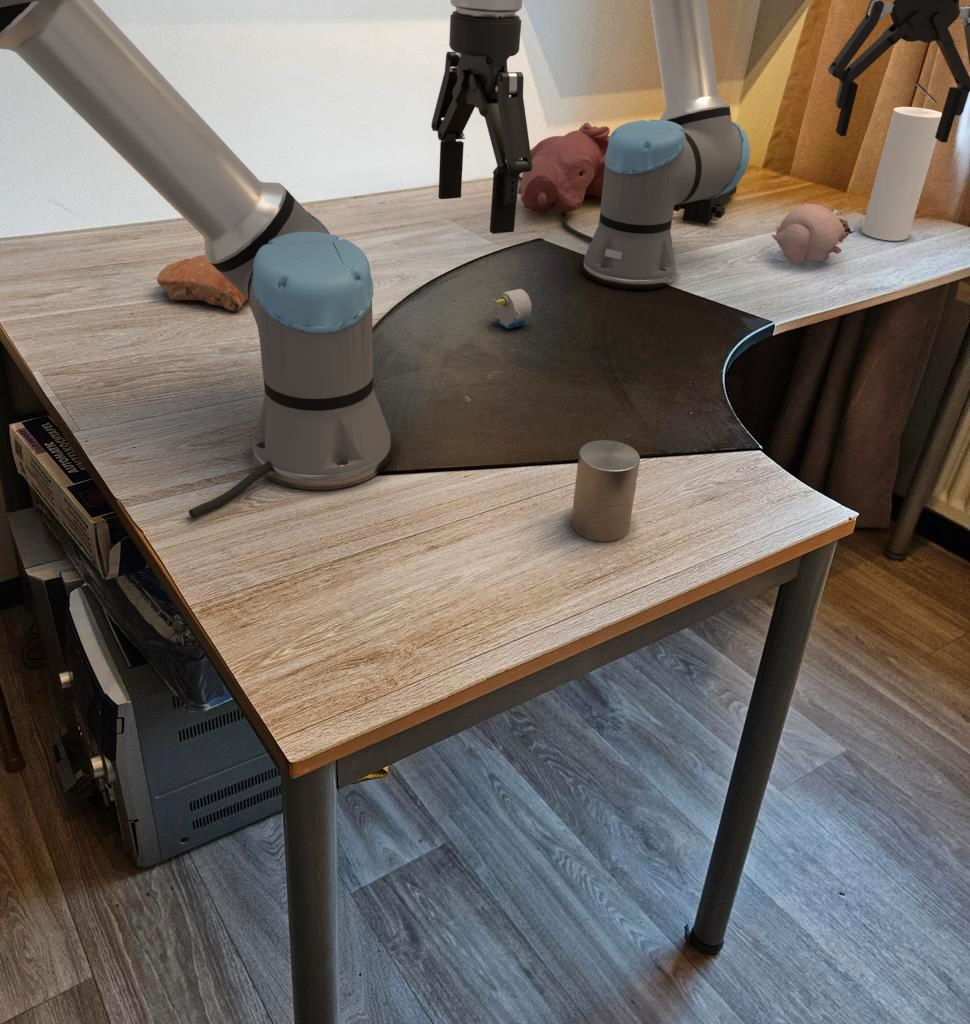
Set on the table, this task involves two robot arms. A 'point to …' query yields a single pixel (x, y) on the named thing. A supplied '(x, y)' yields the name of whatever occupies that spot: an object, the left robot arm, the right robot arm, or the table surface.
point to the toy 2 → (811, 233)
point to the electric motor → (512, 308)
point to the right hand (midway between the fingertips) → (890, 137)
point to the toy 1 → (705, 208)
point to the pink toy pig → (565, 170)
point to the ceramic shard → (199, 283)
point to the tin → (604, 490)
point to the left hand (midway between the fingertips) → (474, 214)
